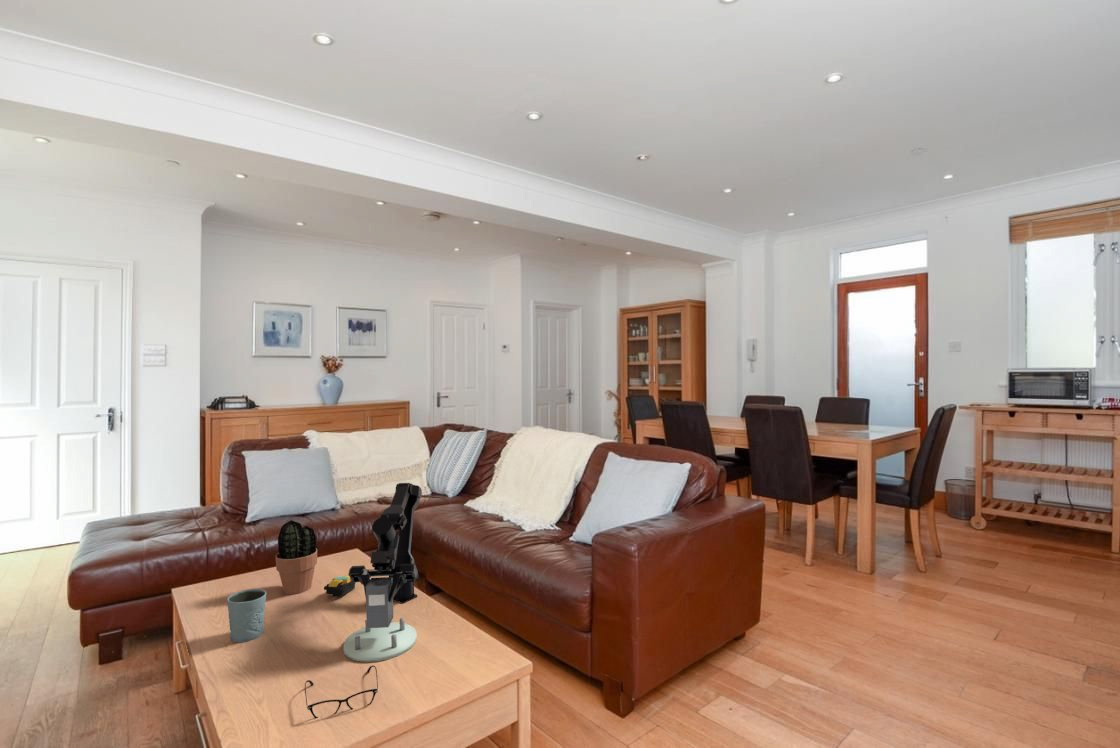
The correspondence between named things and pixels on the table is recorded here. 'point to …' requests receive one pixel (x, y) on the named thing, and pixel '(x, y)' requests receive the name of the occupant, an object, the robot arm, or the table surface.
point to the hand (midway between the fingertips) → (378, 602)
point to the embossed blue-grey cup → (246, 614)
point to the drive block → (379, 602)
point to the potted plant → (296, 557)
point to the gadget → (339, 586)
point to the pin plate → (380, 642)
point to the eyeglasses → (341, 700)
